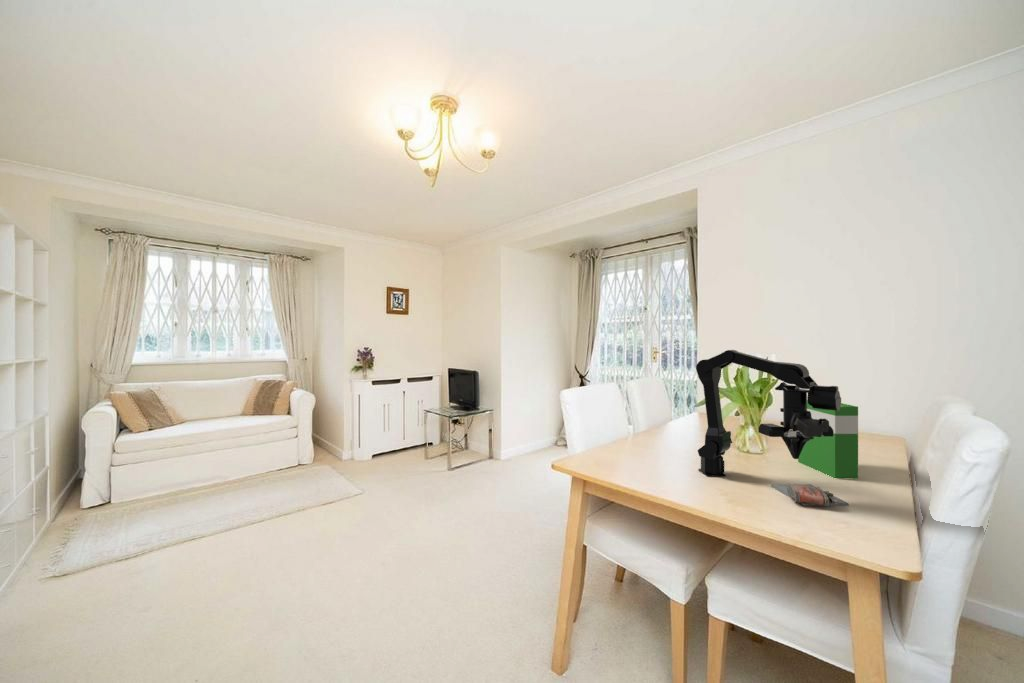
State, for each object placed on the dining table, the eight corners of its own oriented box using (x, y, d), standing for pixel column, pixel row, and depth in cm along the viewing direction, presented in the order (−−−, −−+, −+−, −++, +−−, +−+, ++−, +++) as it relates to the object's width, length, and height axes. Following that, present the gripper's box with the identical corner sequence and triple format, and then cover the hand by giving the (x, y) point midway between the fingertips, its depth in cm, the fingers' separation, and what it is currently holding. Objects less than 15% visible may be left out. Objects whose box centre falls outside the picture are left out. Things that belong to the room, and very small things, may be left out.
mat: (803, 505, 109) (803, 503, 109) (770, 486, 123) (770, 484, 123) (848, 505, 109) (848, 503, 109) (810, 486, 123) (810, 484, 123)
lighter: (786, 481, 116) (827, 485, 112) (786, 492, 116) (827, 496, 113) (796, 493, 108) (840, 498, 105) (795, 504, 109) (839, 510, 105)
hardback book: (798, 461, 147) (798, 398, 147) (818, 462, 146) (818, 398, 146) (835, 478, 129) (835, 406, 129) (858, 478, 129) (858, 406, 129)
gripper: (782, 411, 108) (782, 468, 108) (849, 411, 108) (850, 467, 108) (757, 404, 119) (757, 456, 119) (818, 404, 119) (818, 455, 119)
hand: (795, 458), depth 116 cm, fingers closed
